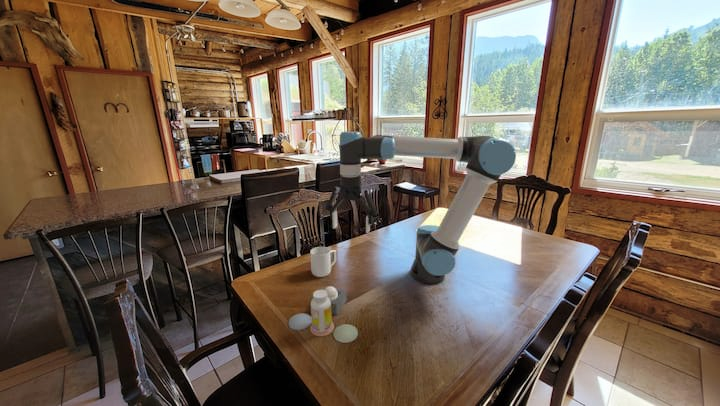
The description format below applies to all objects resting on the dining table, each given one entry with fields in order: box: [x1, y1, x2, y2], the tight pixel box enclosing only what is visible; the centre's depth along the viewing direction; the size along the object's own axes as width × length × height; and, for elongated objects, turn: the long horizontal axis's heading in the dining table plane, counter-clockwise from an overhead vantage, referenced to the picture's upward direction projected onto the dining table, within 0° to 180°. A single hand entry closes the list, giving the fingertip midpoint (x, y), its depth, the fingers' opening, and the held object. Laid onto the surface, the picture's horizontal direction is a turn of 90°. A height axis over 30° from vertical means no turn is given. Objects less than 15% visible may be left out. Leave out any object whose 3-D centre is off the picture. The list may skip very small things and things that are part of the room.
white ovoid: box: [325, 286, 338, 301], centre depth 107 cm, size 6×6×7 cm
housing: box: [321, 286, 347, 316], centre depth 107 cm, size 9×9×4 cm
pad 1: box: [288, 313, 312, 331], centre depth 99 cm, size 8×8×1 cm
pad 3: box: [332, 323, 359, 344], centre depth 94 cm, size 8×8×1 cm
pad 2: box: [309, 321, 335, 337], centre depth 96 cm, size 8×8×1 cm
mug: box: [310, 246, 337, 278], centre depth 130 cm, size 12×9×11 cm
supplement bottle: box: [310, 289, 333, 332], centre depth 95 cm, size 7×7×13 cm
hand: (351, 229), depth 110 cm, fingers open, 13 cm apart
